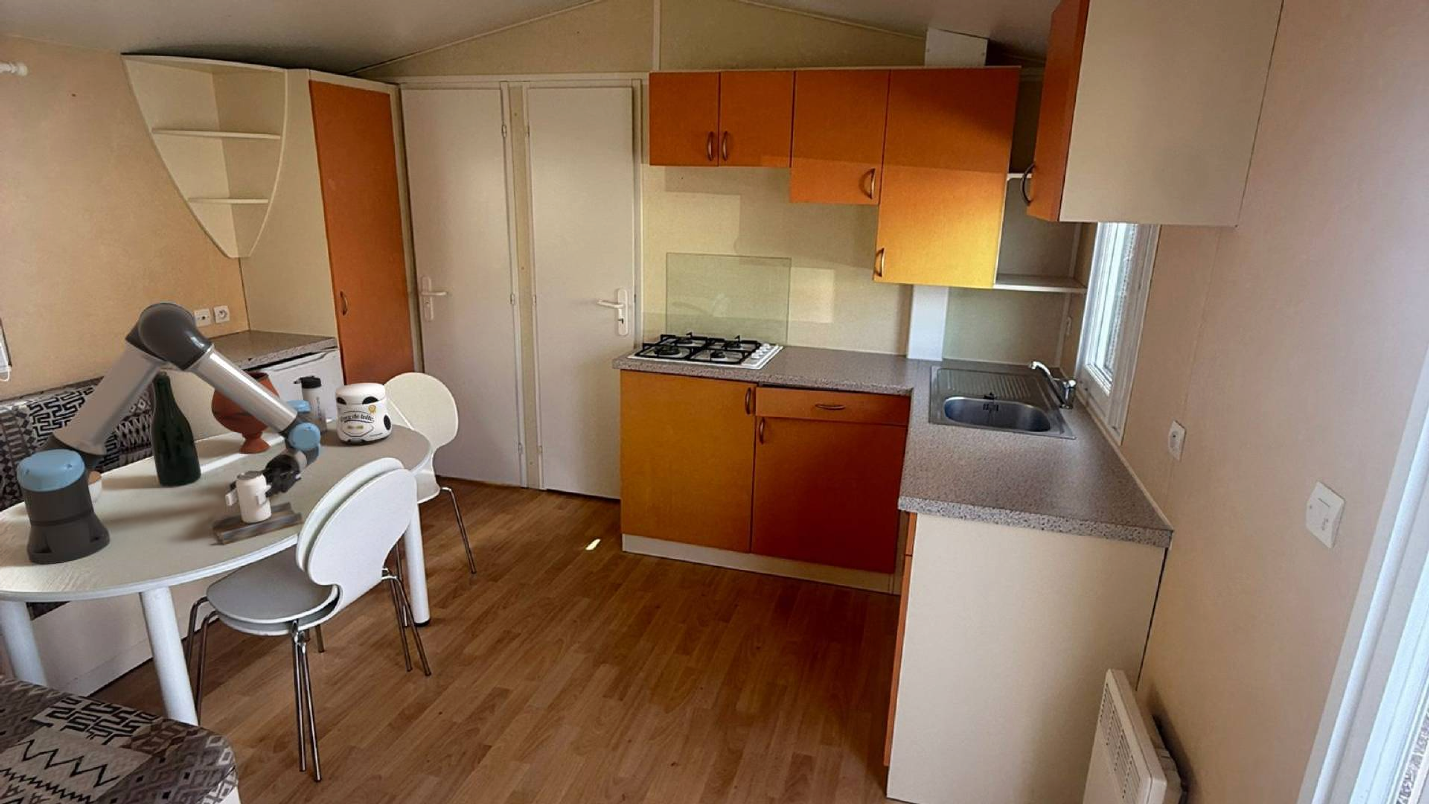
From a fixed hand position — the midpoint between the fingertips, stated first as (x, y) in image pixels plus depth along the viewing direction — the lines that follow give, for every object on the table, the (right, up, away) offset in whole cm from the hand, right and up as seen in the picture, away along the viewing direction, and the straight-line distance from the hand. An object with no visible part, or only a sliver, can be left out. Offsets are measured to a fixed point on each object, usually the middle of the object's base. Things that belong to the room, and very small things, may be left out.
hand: (242, 500), depth 186 cm
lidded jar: (-55, -4, +18) cm, 58 cm away
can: (-1, -6, +7) cm, 9 cm away
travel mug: (-23, +14, +79) cm, 83 cm away
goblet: (-34, +9, +61) cm, 71 cm away
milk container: (-3, +12, +73) cm, 74 cm away
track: (-1, -8, +8) cm, 11 cm away
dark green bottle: (-40, +1, +35) cm, 53 cm away
